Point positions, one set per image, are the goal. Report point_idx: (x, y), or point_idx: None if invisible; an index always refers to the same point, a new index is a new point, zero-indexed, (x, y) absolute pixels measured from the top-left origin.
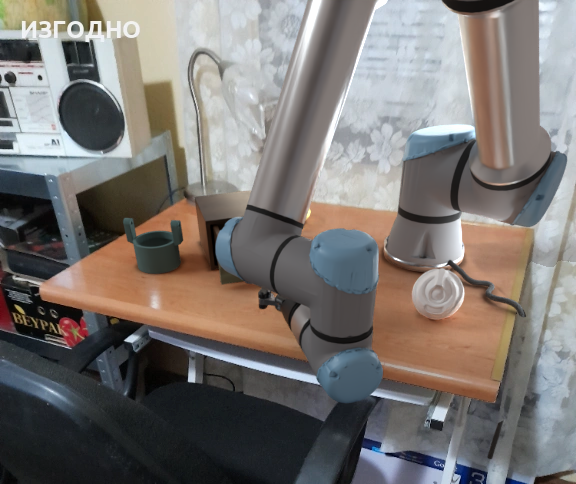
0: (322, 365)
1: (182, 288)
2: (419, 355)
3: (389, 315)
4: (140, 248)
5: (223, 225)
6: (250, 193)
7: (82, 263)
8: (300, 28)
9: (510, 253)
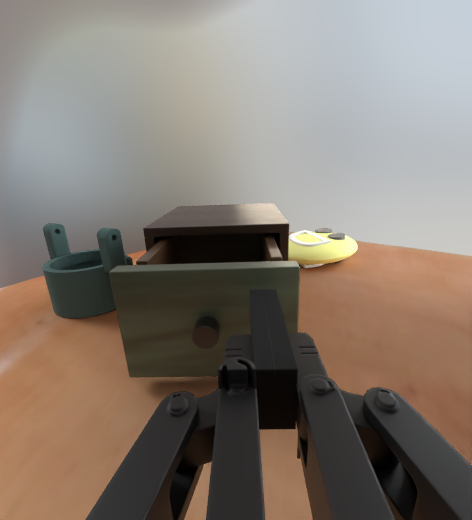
0: None
1: (61, 364)
2: None
3: None
4: (43, 271)
5: (195, 245)
6: (261, 205)
7: (10, 285)
8: None
9: None
